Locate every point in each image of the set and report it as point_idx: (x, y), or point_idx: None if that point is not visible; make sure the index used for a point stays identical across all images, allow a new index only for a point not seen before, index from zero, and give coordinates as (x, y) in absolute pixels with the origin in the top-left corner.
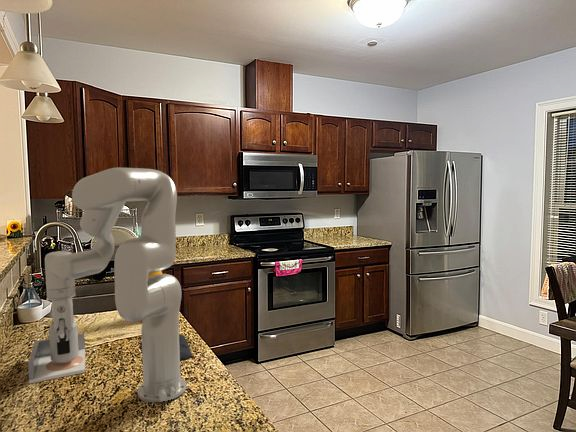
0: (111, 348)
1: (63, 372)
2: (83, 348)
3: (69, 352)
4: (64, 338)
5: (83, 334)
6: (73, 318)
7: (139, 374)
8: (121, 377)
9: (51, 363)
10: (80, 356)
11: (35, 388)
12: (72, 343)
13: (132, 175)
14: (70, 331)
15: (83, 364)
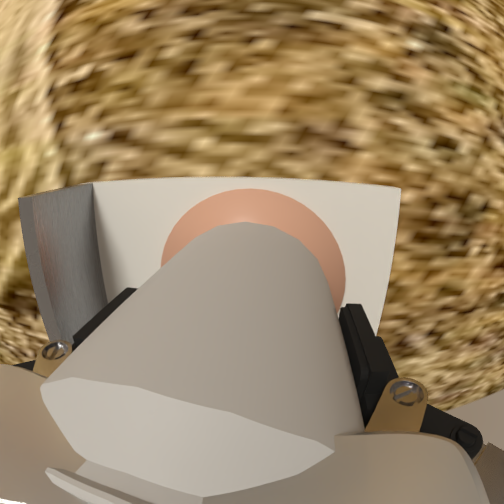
0: (125, 54)
1: (374, 292)
2: (91, 190)
3: (361, 305)
4: (454, 426)
5: (32, 201)
6: (54, 496)
7: (490, 17)
8: (497, 70)
9: None
10: (198, 203)
11: (408, 368)
12: (329, 311)
13: None
14: (356, 429)
15: (329, 190)
